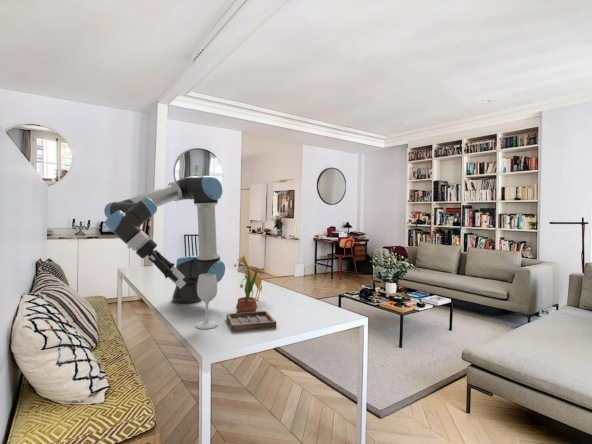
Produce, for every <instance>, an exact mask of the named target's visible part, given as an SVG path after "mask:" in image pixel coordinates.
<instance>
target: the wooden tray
mask: <svg viewBox="0 0 592 444" xmlns="http://www.w3.org/2000/svg"><path fill="white" fill-rule="evenodd" d="M225 318H226V321H227V324H228V326H229V328H230V330H231V332H232V333H233V332H234V333H236V332H237V333H238V332H245V331H246V332H247V331H255V330H264V329H265V330H266V329H267V330H268V329H269V330H270V329H276V328H277V321H276V319H275V318H274V317H273V316H272V315H271V314H270V313H269V312H268V311H267V310H260V311H257V310H256V311H254V312H244V313H241V312H235V313H234V312H231V313H226V317H225Z"/></svg>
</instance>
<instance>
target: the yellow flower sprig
mask: <svg viewBox="0 0 592 444" xmlns="http://www.w3.org/2000/svg"><path fill="white" fill-rule="evenodd" d="M243 259H244V260H243ZM241 260H242V261H245V262H246V263H247V261H246V255H245V254H243V256H240V257H239V258H237V261H238V262H240V261H241ZM243 263H244V262H242V264H243ZM244 265H246V264H245V263H244V264H243V266H244ZM244 267H246V266H244ZM246 268H247V267H246ZM246 270H247V269H246ZM247 271H248V270H247ZM244 273H245V274H246V273H247V272H244ZM249 273H250V282H251V281H252V279H253V277H254V274H255V272H254V271H252V270H250V268H249ZM247 275H248V273H247ZM262 281H263V278H262V276H261V275H260V274H258V273H257V276H256V280H255V283H254V286H256V288H257V289H256V293H255V297H254V298H255V299H256V302H257V301H258V300H259V299H260V293H261V292H262V290H263V285H262ZM253 295H254V287H253V288H252V291H251V294H250V295H249V297H253Z"/></svg>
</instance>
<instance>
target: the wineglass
mask: <svg viewBox="0 0 592 444" xmlns="http://www.w3.org/2000/svg"><path fill="white" fill-rule="evenodd" d="M217 294H218V283H217V279H216V275H215V274H201V275H199V278H198V283H197V295H198V297H199V298H200V299H201V302H204V305H205V315H204V316H205V317H204V321H201V322H198V323H196V324H195V328H196V329H200V330H210V329H214V328H216V327H217V326H218V323H217V322H214V321H210V320H209V304H210V302H211V301H213V300H214V299H215V298H216V296H217Z"/></svg>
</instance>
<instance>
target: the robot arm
mask: <svg viewBox="0 0 592 444" xmlns="http://www.w3.org/2000/svg"><path fill="white" fill-rule="evenodd" d="M222 195H223V186H222V183H221V181H220V180H219V179H218V178H217V177H216V176H212V175H197V176H192V175H191V176H186V177H183V178H180V179H177V180H175V181H171V182H169V183H168V184H167V185H166V186H163V187H161V188H158V189H154V190H151V191H148V192H146V193H142V194H140V195H139V194H138V195H136V196H133V197H130V198H128V199H124V200H121V201H114V202H109V203H107V204H106V205H105V206H104V209H103V210H104V211H103V212H104V215H105V217H106V218H107V219H105V221H104V224H105V226H106V227H107V228H108V230H110V231H111V233H113V234H115V236H116V237H118V239H120V240H121V241H122V242H123V243H124V244H126V245H127V248H128V249H131V250H132V251H135V254H136V255H137V256H138V257H140V258H141V259H145V258H146V257H147V256H148V260H149V261H150V262H151V263H153V265H154V266H156V268H157V269H158V270H159V271H160V272H161V273H162V274H163V275H164V278H165V279H169V280H170V281H172V283H174V284H175V288H174V291H173V292H172V293H173V294H172V299H171V301H172V302H173V303H177V304H193V303H198V302H202V300H201V299H200V298H199V297H198V295H197V283H198V278H199V275H201V274H215V275H216V279H217V284H218V283H219V282H221V280H222V279H223V277H224V276H225V273H226V265H225V263H224V261H222V260H221V256H220V254H218V251H217V229H216V228H217V227H216V226H217V225H216V206H217V205H218V203H219V201H218V200H220V199H221V197H222ZM183 200H184V201H185V200H193V204H194V205H195V206H196V209H197V211H196V212H197V229H198V230H197V232H198V233H197V234H198V253H199V254H198V255H190V256H188V255H187V256H182V257H178V258H177V259H176V265H175V263H174V262H171V261H170V260H168V259H167V258H166V257H165V256H163V255H162V253H161V252H159V251H158V250H157V248H156V247H158V244H157V243H156V242H155V241H154V240H153V239H151V238H150V236H149V235H148V234H147V233H146V232H145V231H143V229H141V228H140V227H141V226H142V225H144V223H146V222H147V221H148V220H150V218H152V217H153V216H154V215H155V214H156V213H157V211H158V207H160V206H163V205H167V204H168V203H171V202H179V201H183Z"/></svg>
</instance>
